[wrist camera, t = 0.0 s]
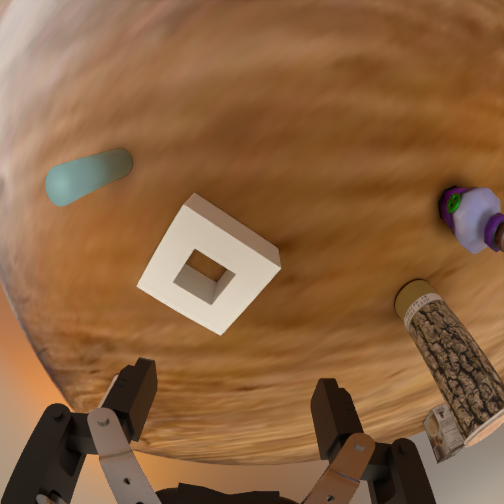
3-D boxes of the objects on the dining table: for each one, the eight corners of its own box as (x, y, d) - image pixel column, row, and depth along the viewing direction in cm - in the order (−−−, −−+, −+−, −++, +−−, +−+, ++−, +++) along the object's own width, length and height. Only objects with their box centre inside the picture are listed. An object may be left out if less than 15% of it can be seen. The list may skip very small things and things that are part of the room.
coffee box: (439, 416, 57) (454, 455, 42) (422, 423, 57) (436, 464, 43) (449, 401, 53) (467, 443, 38) (431, 408, 53) (449, 452, 39)
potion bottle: (434, 171, 28) (496, 197, 17) (475, 178, 28) (533, 205, 17) (424, 233, 32) (475, 276, 21) (465, 234, 32) (515, 272, 21)
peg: (115, 143, 28) (52, 158, 17) (137, 157, 29) (79, 177, 18) (103, 168, 29) (41, 193, 18) (124, 182, 30) (67, 213, 19)
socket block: (194, 192, 31) (183, 204, 26) (278, 248, 33) (281, 268, 29) (150, 266, 35) (136, 286, 30) (224, 311, 38) (220, 335, 33)
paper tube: (391, 318, 38) (455, 454, 16) (395, 283, 35) (482, 427, 13) (426, 308, 38) (498, 428, 15) (432, 273, 35) (526, 396, 12)
